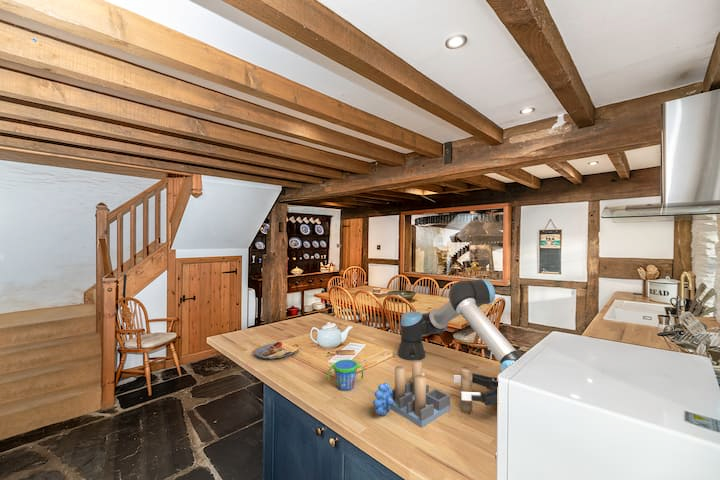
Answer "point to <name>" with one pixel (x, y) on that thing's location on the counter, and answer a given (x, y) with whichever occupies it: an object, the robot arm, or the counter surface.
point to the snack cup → (345, 373)
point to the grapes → (383, 399)
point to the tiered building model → (422, 375)
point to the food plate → (273, 351)
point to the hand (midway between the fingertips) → (457, 386)
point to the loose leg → (466, 388)
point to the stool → (418, 397)
